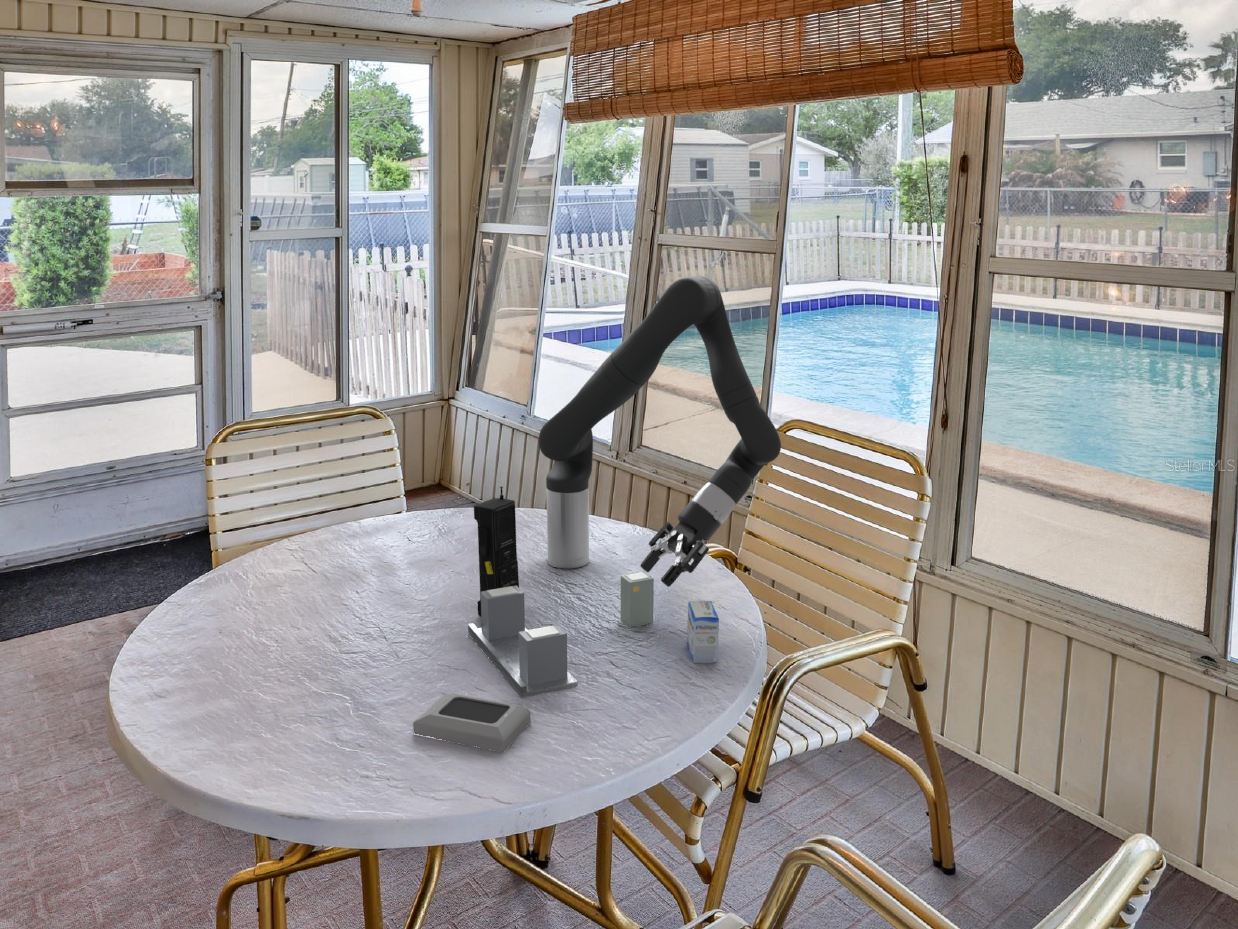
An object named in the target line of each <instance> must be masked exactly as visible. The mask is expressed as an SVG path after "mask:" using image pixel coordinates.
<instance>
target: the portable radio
mask: <svg viewBox="0 0 1238 929" xmlns="http://www.w3.org/2000/svg"><path fill="white" fill-rule="evenodd" d="M499 488H500V495H499V497H493V498H490V499H487V500H485V501H482V502H479V503H477V504H475V505H473V519H474V520H475V521H476V522H477V542H478V543H477V544H478V566H479V568H478V572H479V573H478V574H479V575H478V576H479V600H478V601H476V602H477V604H476V605H477V616H479V617H480V618H481V591H487V590H492V589H498V588H504V587H510V586H518V587H519V588H520V582H519V562H518V561H519V560H518V553H517V524H516V523H517V522H516V520H517V519H516V501H515V500H513V499H507V498H504V495H503V488H504V486H499Z"/></svg>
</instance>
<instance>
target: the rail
mask: <svg viewBox="0 0 1238 929" xmlns="http://www.w3.org/2000/svg"><path fill="white" fill-rule="evenodd" d="M526 630H528V628H527V627H525V631H526ZM467 633H469V634H468V636H469V635H470V636H471V637H472V638H473V639H472V638H471V637H470V636H469V637H470V638H471V639H472V640H473V641H474V640H475V642H476V643H477V644H478V645H477V644H476V643H475V642H474V643H475V644H476V645H477V647H478V648H479V647H480V648H481V649H482V650H483V651H482V650H481V649H480V648H479V649H480V650H481V651H482V652H484V653H485V654H486V655H487V656H486V655H485V654H484V653H483V654H484V655H485V656H486V657H487V658H488V657H489V659H490V660H489V659H488V660H489V662H491V661H492V662H491V663H492V665H493V664H494V665H495V666H494V665H493V666H494V667H495V668H496V669H497V670H499V671H500V672H499V671H498V672H499V673H500V674H501V676H502V675H503V676H502V677H503V678H504V679H505V681H506V682H507V681H508V682H507V683H508V684H509V686H510V687H511V688H512V689H513V690H514V691H515V693H516V694H517V695H518V696H519V697H520V698H521V699H523V698H529V697H533V696H538V695H542V694H543V695H544V694H547V693H551V692H556V691H562V690H565V689H570V688H574V687H579V681H578V680H577V678H575V677H574V676H573V675H572V674H571V673H570V672H569V670H567V677H568V678H564V679H559V680H555V681H550V682H545V683H541V684H536V685H531V686H528V685H527V684H526V683H525V682H524V681H523V679H522V678H521V677H520V666H519V635H515V636H510V637H504V638H499V639H494V640H488V639H487V638H486V636H485V635H484V634H483V633H482V627H479V628H478V627H477V626H476V625H475V624H474V623H473V622H471V623H468V624H467Z"/></svg>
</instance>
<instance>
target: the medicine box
mask: <svg viewBox="0 0 1238 929" xmlns="http://www.w3.org/2000/svg"><path fill="white" fill-rule="evenodd" d="M686 630H687V632H686V634H687V636H686V645H687V647H688V648H687V649H688V651H689V654H690V656H691V657H690V658H691V659H692V662H693V664H707V663H708V664H713V663H718V660H719V659H718V658H719V635H720V634H719V632H720V617H719V615H718V613H717V611H716V609H715V606H714V603H713V601H712V600H689V601H688V603H687V629H686Z"/></svg>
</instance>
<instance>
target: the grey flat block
mask: <svg viewBox="0 0 1238 929" xmlns="http://www.w3.org/2000/svg"><path fill="white" fill-rule="evenodd" d="M531 715H532V714H531V711H530V709H529V708H527V707H525V706H522V705H519V704H515V703H510V702H509V703H508V702H503V701H496V700H493V699H486V698H480V697H475V696H469V695H463V694H457V693H445V694H443V695H442V696H441V697H440V698H439V699H437V701H436V702H434V704H432V705H431V706H430V707H429V708H428V709H427V710H425V712H424V713H422V714H420V716H419V717H417V719H415V721H413V723H412V726H413V734H414V733H415V734H419V735H423V736H430V737H434V738H436V739H442V740H446V741H450V742H449V743H452V742H454V743H453V744H457V743H460V744H459V745H462V744H464V745H463V746H469V747H472V746H475V747H474V748H478V747H480V748H479V749H483V748H485V749H484V750H488V749H491V750H490V751H493V750H495V751H494V752H498V751H499V753H505V752H506V751H507V750H508V749H509V747H510V746H511V745H512V744H513V743H514V742H515V741H516V739H517V738H518V737H519V736H520V735H521V734H522V733H523V732H524V730H525V729H526V728H527V727H528V726H529V725H530V724H531V723H532V722H531V721H532V719H531ZM436 739H435V740H436ZM446 741H445V742H446ZM476 746H477V747H476ZM506 749H507V750H506Z"/></svg>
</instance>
